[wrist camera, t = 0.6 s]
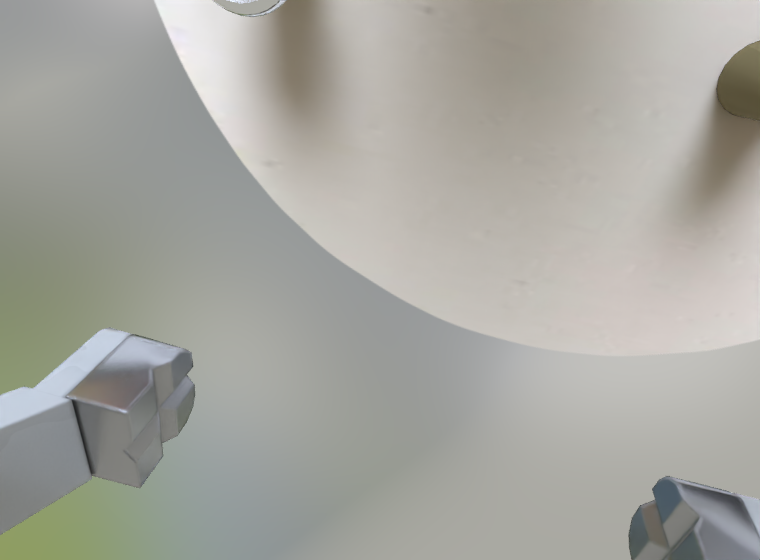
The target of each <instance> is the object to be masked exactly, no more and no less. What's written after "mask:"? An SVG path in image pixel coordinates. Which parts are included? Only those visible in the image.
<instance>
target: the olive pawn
mask: <svg viewBox="0 0 760 560" xmlns="http://www.w3.org/2000/svg"><path fill="white" fill-rule="evenodd" d="M717 94H718V99H719V102H720V103H721V105H722V106H723V108H724V109H725V110H727V111H728V112H730V113H731V114H733V115H736V116H740V117H745V118H749V119H753V120H758V121H760V41H757V42H755V43H752V44H750V45H747V46H746V47H745V48H743V49H742V50H740V51H739V52H737V53H736V54H735V55H734V56H733V57H732V58H731V59H730V60H729V62H728V63H727V64H726V65H725V67H724V69H723V71H722V73H721V74H720V76H719V80H718V85H717Z"/></svg>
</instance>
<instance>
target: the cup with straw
mask: <svg viewBox="0 0 760 560" xmlns="http://www.w3.org/2000/svg"><path fill="white" fill-rule="evenodd" d="M213 1H214V2H215V3H216V4H217V5H219V6H221V7H222V8H224V9H226V10H227V11H230V12H232V13H235V14H238V15H241V16H248V17H257V16H263V15H266V14H269V13H271V12H273V11H275V10H276V9H278V8H279V7H280V6H282V5H283V4H284V3H285V1H286V0H213Z"/></svg>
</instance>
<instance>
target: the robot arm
mask: <svg viewBox="0 0 760 560" xmlns="http://www.w3.org/2000/svg"><path fill="white" fill-rule="evenodd" d="M192 367H193V361H192V353H191V352H190V351H188V350H186V349H184V348H180V347H177V346H173V345H170V344H167V343H163V342H160V341H156V340H153V339H149V338H146V337H142V336H139V335H134V334H130V333H127V332H123V331H120V330H117V329H113V328H106V329H103V330H100V331H99V332H98V333H96V334H95V335H94V336H93V337H92V338H90V339H89V340H88V341H87V342H86V343H85V344H84V345H82V346H81V347H80V348H79V349H78V350H77V351H75V352H74V353H73V354H72V355H71V356H70V357H69V358H68V359H66V360H65V361H64V362H63V363H62V364H60V365H59V366H58V367H57V368H56V369H55V370H54V371H52V372H51V373H50V374H49V375H48V376H47V377H46V378H44V379H43V380H42V381H41V382H40V383H39V384H38V385H36V386H35V387H34V388H29V387H21V388H19V389H16V390H13V391H10V392H7V393H4V394H2V395H0V535H1V534H3V533H4V532H6V531H7V530H9V529H11V528H12V527H14V526H16V525H17V524H19V523H21V522H22V521H24V520H25V519H27V518H29V517H30V516H32V515H34V514H35V513H37V512H39V511H40V510H42V509H44V508H45V507H47V506H48V505H50V504H52V503H53V502H55V501H57V500H58V499H60V498H61V497H63V496H65V495H67V494H68V493H70V492H71V491H73V490H75V489H76V488H78V487H80V486H81V485H83V484H84V483H86V482H88V481H89V480H91V479H92V476H95V477H99V478H102V479H106V480H110V481H114V482H118V483H122V484H125V485H129V486H133V487H137V488H141V486H142V485H143V484H144V482H145V481H146V479H147V478H148V476H149V475H150V474H151V472H152V471H153V470H154V468H155V467H156V465H157V464H158V463H159V461H160V460H161V458H162V457H163V447H162V443H164V442H166V441H168V440H170V439H172V438H174V437H176V436H178V434H179V433H180V431H181V430H182V428H183V427H184V426H185V424H186V422H187V420H188V418H189V415H190V413H191V411H192V408H193V404H194V398H195V385H194V384H193V382H192V381H191V379H190V378H189V377H188V375H187V374H188V372H189V371H190V370H191V369H192ZM652 490H653V494H654V497H655V500H654V501H651V502H648V503H645V504H643V505H640V506H639V508H638V509H637V511H636V513H635V514H634V516H633V517H632V520H631V525H630V530H629V549H630V555H631V559H632V560H760V499H756V498H753V497H749V496H745V495H741V494H737V493H731V492H729V491H726V490H722V489H718V488H714V487H710V486H706V485H702V484H698V483H694V482H690V481H686V480H682V479H678V478H674V477H670V476H666V477H664V478H662V479H660V480H659V481H658V482H657V483H656V485H655V486H654V487H653V489H652Z"/></svg>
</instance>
